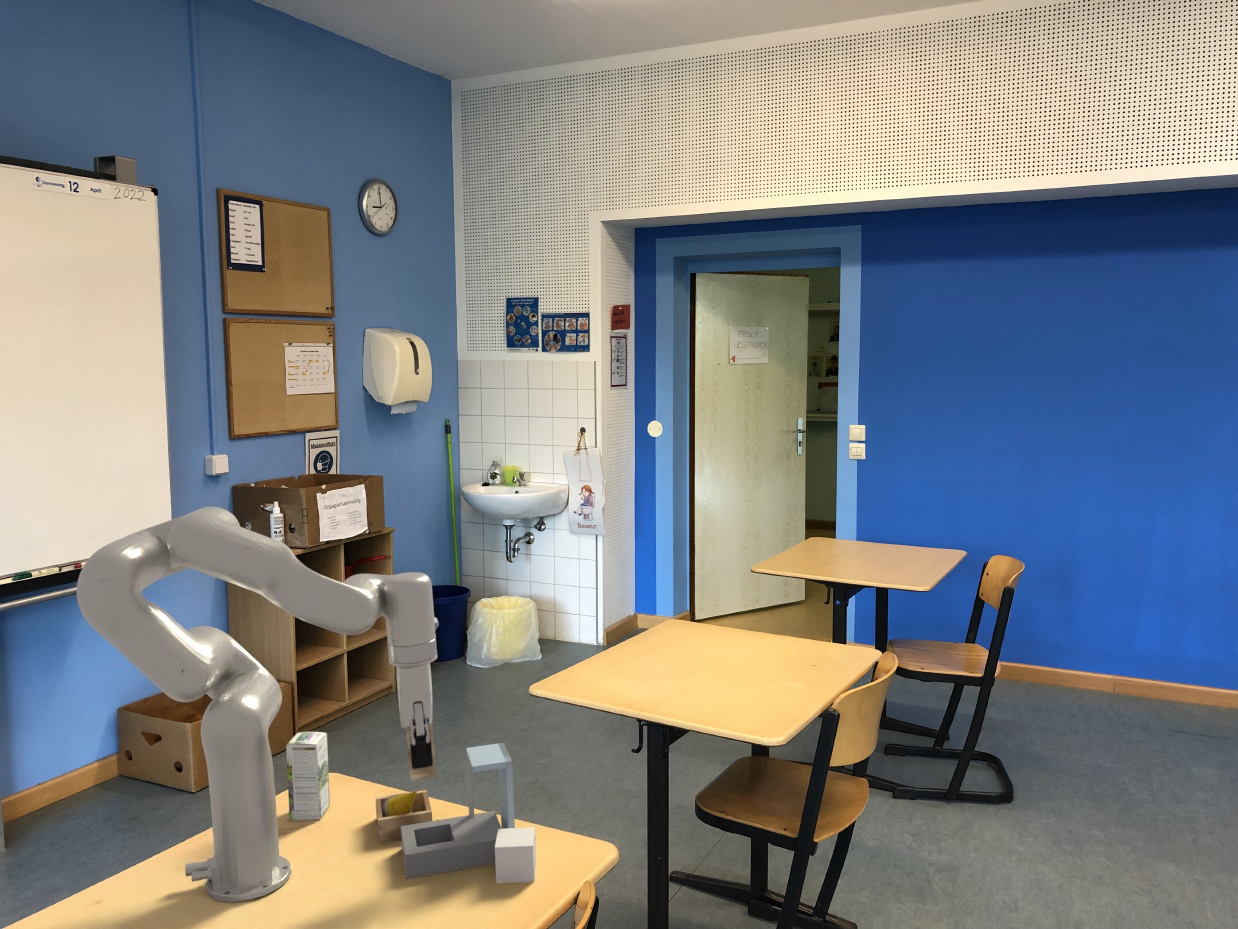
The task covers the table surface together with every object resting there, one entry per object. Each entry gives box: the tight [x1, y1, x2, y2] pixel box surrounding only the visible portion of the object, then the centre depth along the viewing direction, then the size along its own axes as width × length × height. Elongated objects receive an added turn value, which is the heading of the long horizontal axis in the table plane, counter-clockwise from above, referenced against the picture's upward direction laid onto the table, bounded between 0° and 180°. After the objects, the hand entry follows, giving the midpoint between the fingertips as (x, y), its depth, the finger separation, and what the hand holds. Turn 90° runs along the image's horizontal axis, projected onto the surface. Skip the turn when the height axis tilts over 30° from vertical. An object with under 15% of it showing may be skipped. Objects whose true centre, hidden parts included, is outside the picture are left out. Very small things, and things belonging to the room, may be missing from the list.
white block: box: [494, 826, 537, 884], centre depth 151 cm, size 6×6×6 cm
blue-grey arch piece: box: [465, 742, 516, 829], centre depth 159 cm, size 6×8×16 cm
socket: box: [400, 810, 502, 880], centre depth 157 cm, size 16×10×4 cm, turn 107°
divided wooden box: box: [374, 789, 433, 844], centre depth 167 cm, size 9×9×4 cm
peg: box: [405, 719, 437, 782], centre depth 152 cm, size 4×4×10 cm
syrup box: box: [285, 731, 331, 821], centre depth 172 cm, size 6×6×14 cm
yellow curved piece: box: [382, 790, 417, 817], centre depth 166 cm, size 5×5×10 cm
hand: (421, 760), depth 152 cm, fingers closed on peg, 4 cm apart
